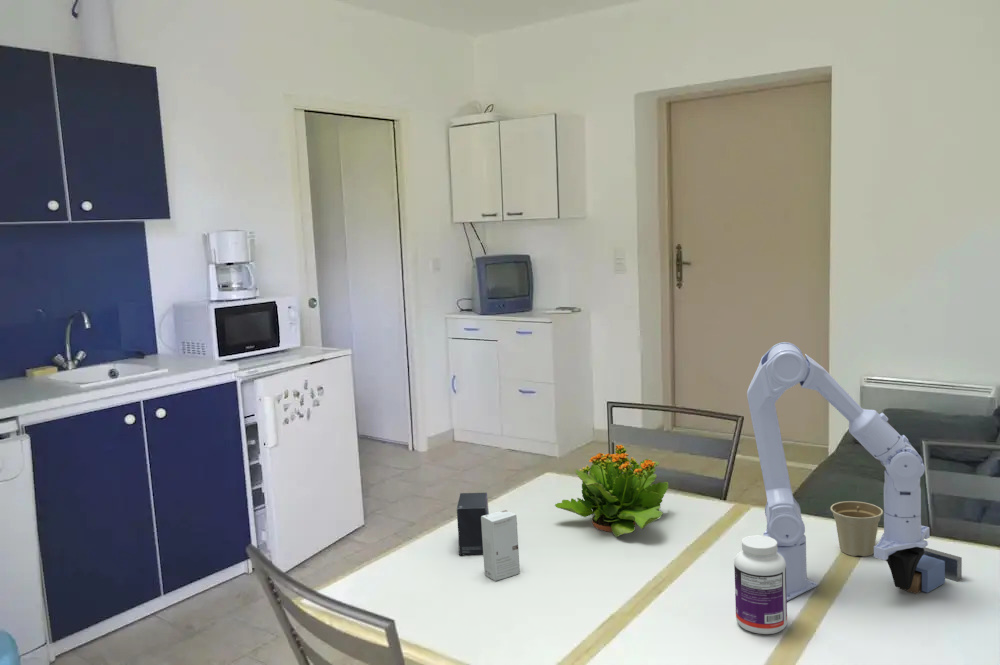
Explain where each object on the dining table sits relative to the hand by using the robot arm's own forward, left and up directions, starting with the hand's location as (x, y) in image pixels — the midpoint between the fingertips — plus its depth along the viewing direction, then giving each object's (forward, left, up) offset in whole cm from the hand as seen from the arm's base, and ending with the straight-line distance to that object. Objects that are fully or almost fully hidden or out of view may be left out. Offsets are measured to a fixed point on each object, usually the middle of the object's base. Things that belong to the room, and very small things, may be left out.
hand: (902, 587), depth 137 cm
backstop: (+12, 0, -1) cm, 12 cm away
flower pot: (+11, +15, -1) cm, 19 cm away
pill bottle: (-27, +9, -1) cm, 29 cm away
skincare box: (-47, +55, -1) cm, 72 cm away
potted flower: (-13, +60, -1) cm, 61 cm away
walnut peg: (+4, 0, -1) cm, 4 cm away
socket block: (+6, 0, -1) cm, 6 cm away
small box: (-43, +71, -1) cm, 83 cm away
